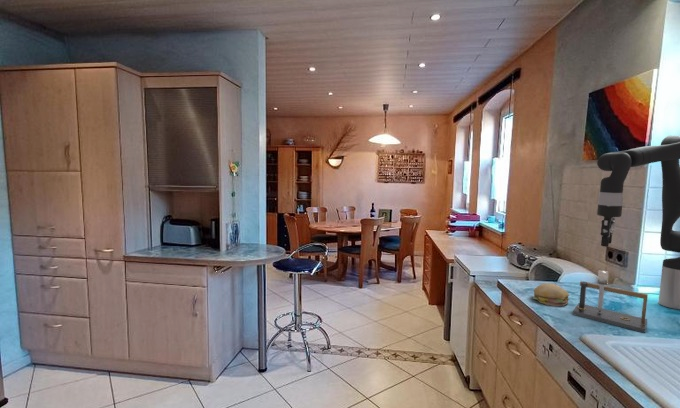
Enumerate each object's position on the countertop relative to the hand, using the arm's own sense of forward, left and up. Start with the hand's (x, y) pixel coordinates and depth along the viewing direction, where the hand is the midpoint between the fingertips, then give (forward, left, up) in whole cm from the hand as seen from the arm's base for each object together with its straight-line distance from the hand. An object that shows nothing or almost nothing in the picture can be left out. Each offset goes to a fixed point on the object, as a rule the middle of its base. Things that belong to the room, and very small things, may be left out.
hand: (606, 244), depth 133 cm
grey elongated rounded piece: (-1, 0, -28) cm, 28 cm away
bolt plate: (0, +3, -30) cm, 30 cm away
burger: (-4, -18, -30) cm, 35 cm away
